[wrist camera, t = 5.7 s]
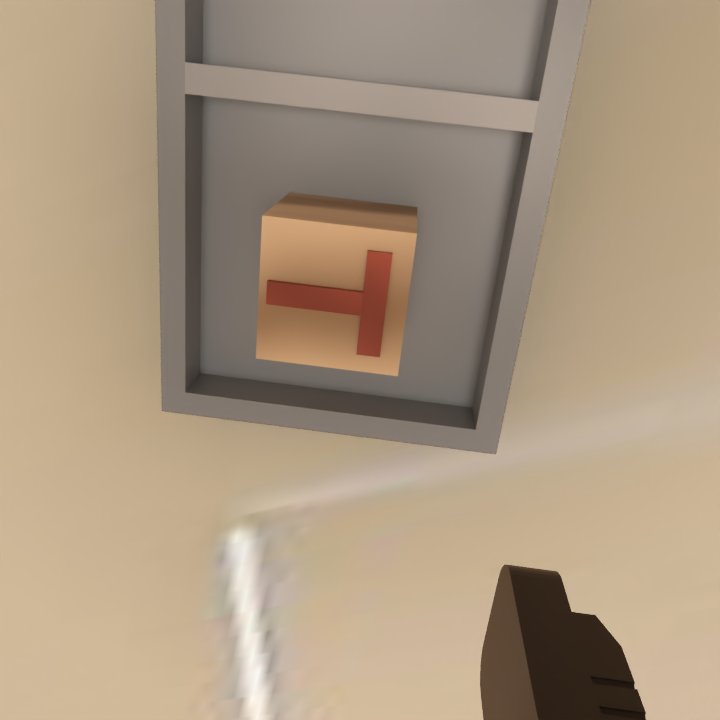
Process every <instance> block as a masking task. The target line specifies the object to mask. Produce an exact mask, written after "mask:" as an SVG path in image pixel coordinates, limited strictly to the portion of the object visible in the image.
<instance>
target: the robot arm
mask: <svg viewBox="0 0 720 720" xmlns="http://www.w3.org/2000/svg"><path fill="white" fill-rule="evenodd" d="M634 683H635V682H634V680H633V677H632V674H631V671H630V669H629V666H628V663H627V661H626V658H625V655H624V652H623V650H622V647H621V646H620V645H619V643H618V642H617V641H616V640H615V639H614V637H613V636H612V635H611V634H610V632H609V631H608V630H607V629H606V628H605V626H604V625H603V624H602V623H601V622H600V620H599V619H598V618H597V617H596V616H595V615H590V614H582V613H575V612H571V609H570V606H569V602H568V599H567V595H566V592H565V589H564V585H563V582H562V579H561V576H560V575H559V573H558V572H556V571H549V570H542V569H534V568H527V567H519V566H512V565H504V566H503V567H502V569H501V572H500V575H499V579H498V583H497V587H496V592H495V596H494V601H493V605H492V609H491V614H490V618H489V622H488V627H487V631H486V635H485V640H484V644H483V650H482V658H481V671H480V687H481V699H482V709H483V718H484V720H646V719H645V713H646V712H645V710H644V707H643V704H642V701H641V699H640V696H639V693H638V691H637V690H636V689H635V688H634Z"/></svg>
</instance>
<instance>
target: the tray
mask: <svg viewBox="0 0 720 720" xmlns="http://www.w3.org/2000/svg"><path fill="white" fill-rule="evenodd" d="M590 2H591V0H155V18H156V79H157V140H158V202H159V263H160V324H161V385H162V411H166V412H173V413H181V414H189V415H196V416H204V417H212V418H220V419H227V420H235V421H243V422H250V423H258V424H266V425H274V426H281V427H289V428H297V429H304V430H312V431H320V432H328V433H335V434H343V435H351V436H358V437H366V438H374V439H382V440H389V441H397V442H405V443H412V444H420V445H428V446H436V447H443V448H451V449H459V450H466V451H474V452H482V453H490V454H496V452H497V447H498V442H499V437H500V432H501V428H502V423H503V418H504V413H505V409H506V404H507V399H508V394H509V389H510V385H511V380H512V375H513V370H514V366H515V361H516V356H517V351H518V346H519V342H520V337H521V332H522V327H523V322H524V318H525V313H526V308H527V303H528V299H529V294H530V289H531V284H532V279H533V275H534V270H535V265H536V260H537V256H538V251H539V246H540V241H541V236H542V232H543V227H544V222H545V217H546V213H547V208H548V203H549V198H550V193H551V189H552V184H553V179H554V174H555V169H556V165H557V160H558V155H559V150H560V146H561V141H562V136H563V131H564V126H565V122H566V117H567V112H568V107H569V103H570V98H571V93H572V88H573V83H574V79H575V74H576V69H577V64H578V60H579V55H580V50H581V45H582V40H583V36H584V31H585V26H586V21H587V16H588V12H589V7H590ZM290 192H291V193H300V194H309V195H317V196H326V197H334V198H343V199H351V200H360V201H368V202H377V203H386V204H394V205H403V206H411V207H417V238H416V246H415V253H414V260H413V268H412V275H411V283H410V290H409V297H408V305H407V312H406V319H405V327H404V334H403V342H402V349H401V356H400V364H399V371H398V376H391V375H384V374H376V373H368V372H360V371H352V370H344V369H336V368H328V367H320V366H312V365H304V364H296V363H288V362H280V361H272V360H265V359H257V358H256V343H257V320H258V297H259V275H260V252H261V229H262V215H263V214H264V213H266V212H267V211H268V210H269V209H270V208H272V207H273V206H274V205H275V204H276V203H278V202H279V201H280V200H281V199H282V198H284V197H285V196H286V195H287V194H288V193H290Z"/></svg>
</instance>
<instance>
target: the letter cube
mask: <svg viewBox="0 0 720 720" xmlns="http://www.w3.org/2000/svg"><path fill="white" fill-rule="evenodd" d="M416 238H417V207H411V206H403V205H394V204H386V203H377V202H368V201H360V200H351V199H343V198H334V197H326V196H317V195H309V194H300V193H291V192H290V193H288V194H287V195H286V196H285V197H284V198H282V199H281V200H280V201H279V202H278V203H276V204H275V205H274V206H273V207H272V208H270V209H269V210H268V211H267V212H266V213H264V214H263V215H262V229H261V252H260V275H259V297H258V320H257V343H256V358H257V359H265V360H272V361H280V362H288V363H296V364H304V365H312V366H320V367H328V368H336V369H344V370H352V371H360V372H368V373H376V374H384V375H391V376H398V371H399V364H400V356H401V349H402V342H403V334H404V327H405V319H406V312H407V305H408V297H409V290H410V283H411V275H412V268H413V260H414V253H415V246H416Z"/></svg>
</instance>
